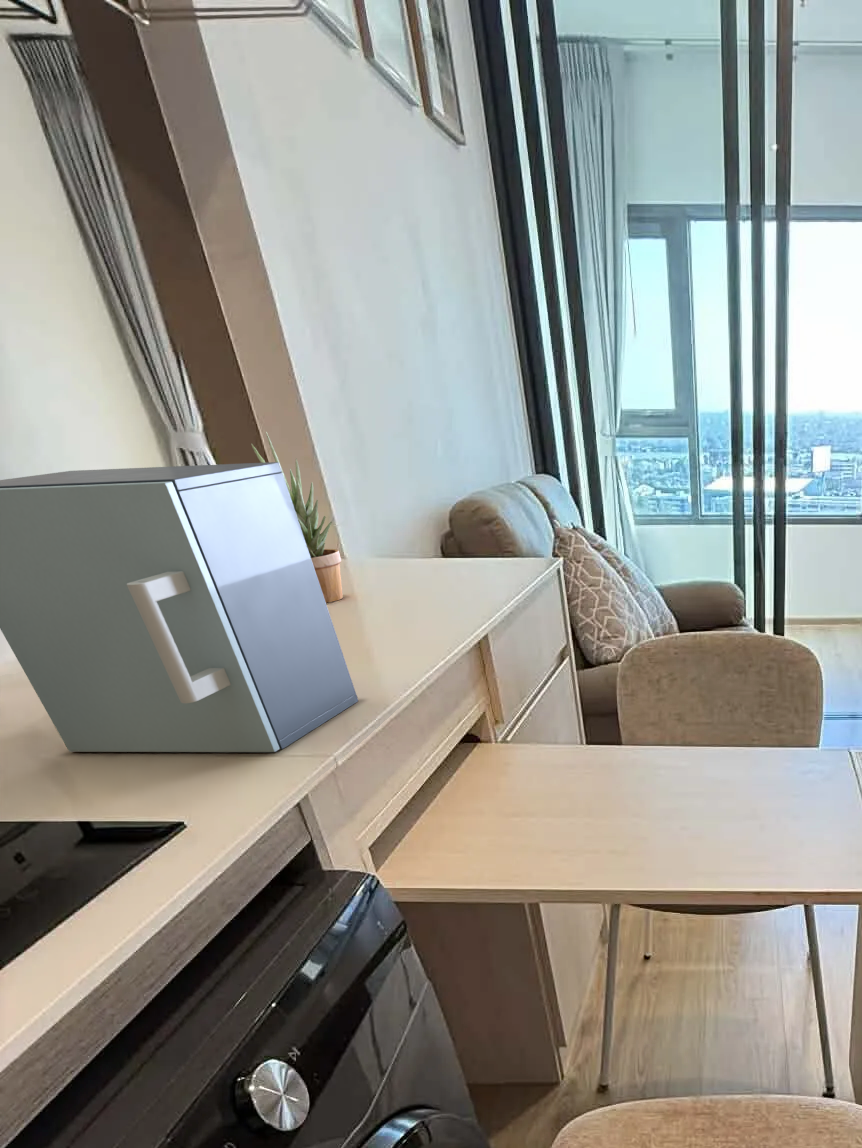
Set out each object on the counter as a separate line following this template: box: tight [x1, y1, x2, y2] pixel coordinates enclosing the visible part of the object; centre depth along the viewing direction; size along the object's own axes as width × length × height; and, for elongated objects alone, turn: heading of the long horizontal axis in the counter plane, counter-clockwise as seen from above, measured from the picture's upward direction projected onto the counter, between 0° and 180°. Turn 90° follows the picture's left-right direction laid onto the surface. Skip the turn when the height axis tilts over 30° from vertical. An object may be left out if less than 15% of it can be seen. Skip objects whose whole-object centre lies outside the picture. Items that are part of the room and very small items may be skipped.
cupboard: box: [0, 461, 359, 750], centre depth 88 cm, size 16×24×24 cm
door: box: [0, 482, 281, 753], centre depth 79 cm, size 7×24×24 cm, turn 83°
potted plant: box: [251, 431, 344, 604], centre depth 142 cm, size 10×10×25 cm
